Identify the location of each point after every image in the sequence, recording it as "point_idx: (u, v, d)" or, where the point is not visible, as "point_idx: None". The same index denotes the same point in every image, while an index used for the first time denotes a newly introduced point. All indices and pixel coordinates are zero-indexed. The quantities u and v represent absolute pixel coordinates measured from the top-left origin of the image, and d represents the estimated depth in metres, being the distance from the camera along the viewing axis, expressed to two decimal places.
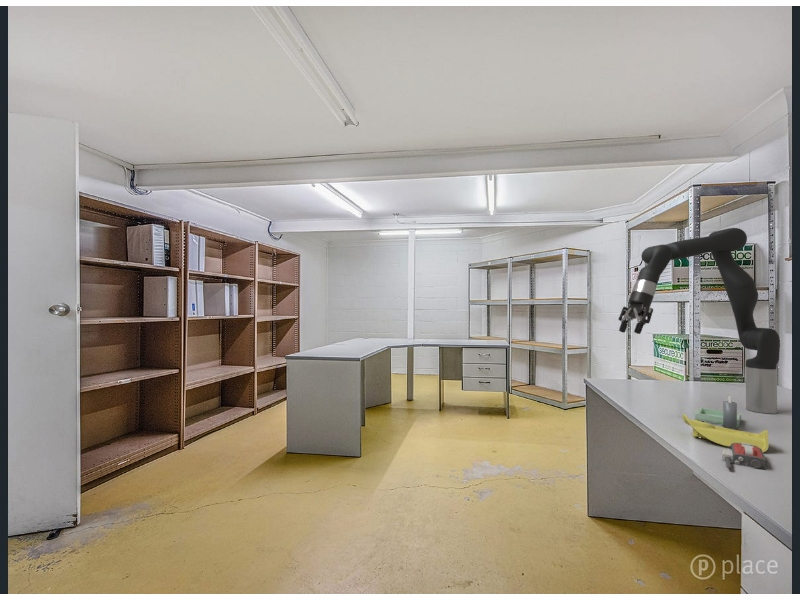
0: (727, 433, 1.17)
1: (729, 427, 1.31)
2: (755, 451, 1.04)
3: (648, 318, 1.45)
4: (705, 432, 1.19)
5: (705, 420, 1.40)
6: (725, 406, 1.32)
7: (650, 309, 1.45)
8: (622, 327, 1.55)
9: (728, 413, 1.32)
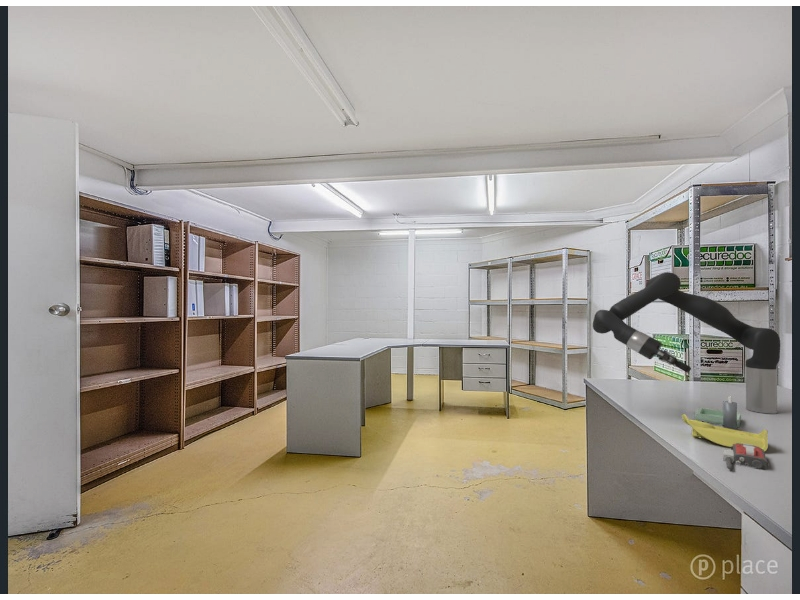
0: (726, 433, 1.17)
1: (729, 427, 1.31)
2: (757, 452, 1.04)
3: (670, 357, 1.37)
4: (704, 432, 1.19)
5: (705, 420, 1.40)
6: (725, 406, 1.32)
7: (660, 353, 1.39)
8: None
9: (728, 413, 1.32)
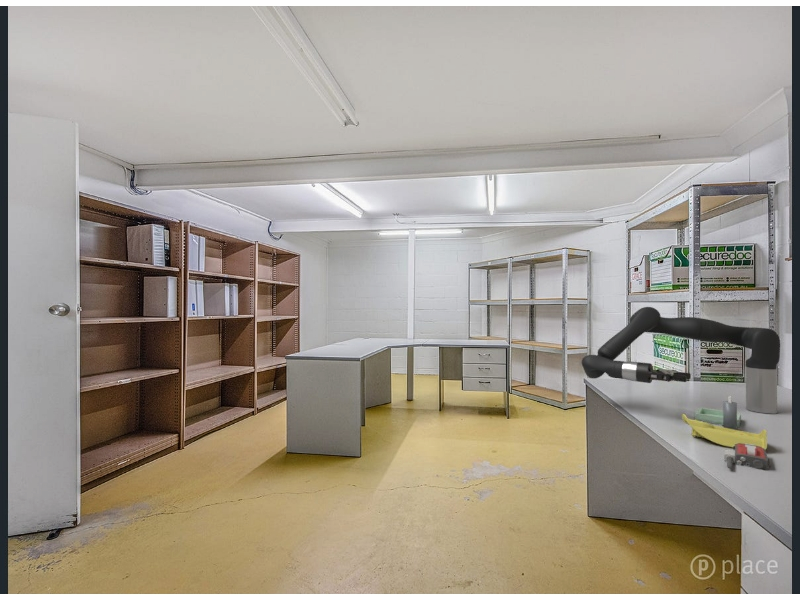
0: (726, 433, 1.17)
1: (729, 427, 1.31)
2: (758, 451, 1.04)
3: (663, 375, 1.41)
4: (704, 432, 1.19)
5: (705, 420, 1.40)
6: (725, 406, 1.32)
7: (652, 375, 1.43)
8: None
9: (728, 413, 1.32)
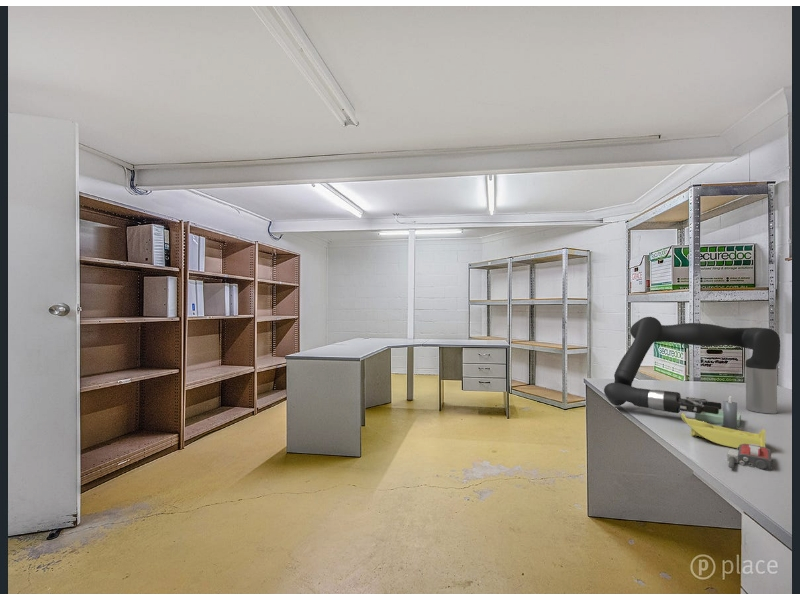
0: (724, 432, 1.17)
1: (729, 427, 1.31)
2: (762, 452, 1.04)
3: (694, 406, 1.34)
4: (702, 431, 1.20)
5: (705, 420, 1.40)
6: (725, 406, 1.32)
7: (682, 407, 1.36)
8: (715, 407, 1.39)
9: (728, 413, 1.32)
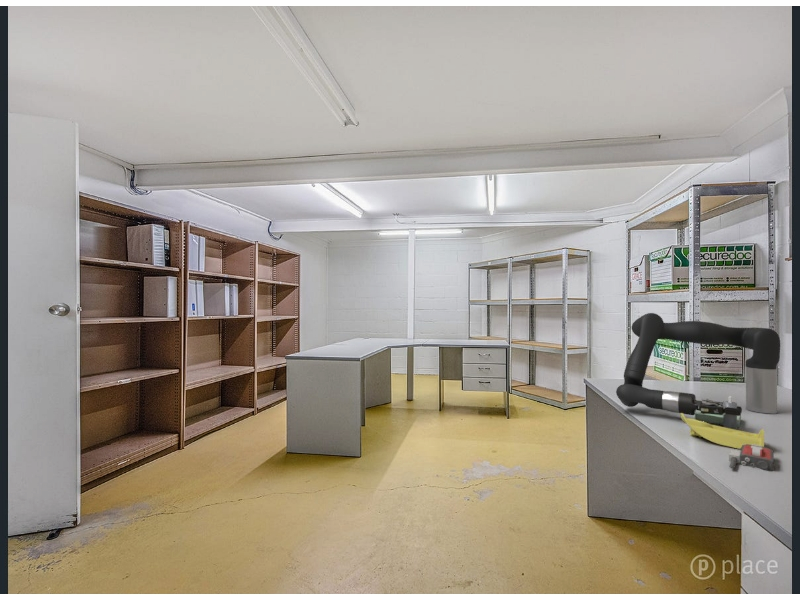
0: (723, 432, 1.18)
1: (729, 427, 1.31)
2: (764, 453, 1.03)
3: None
4: (701, 431, 1.20)
5: (705, 420, 1.40)
6: (725, 406, 1.32)
7: (704, 409, 1.32)
8: None
9: None
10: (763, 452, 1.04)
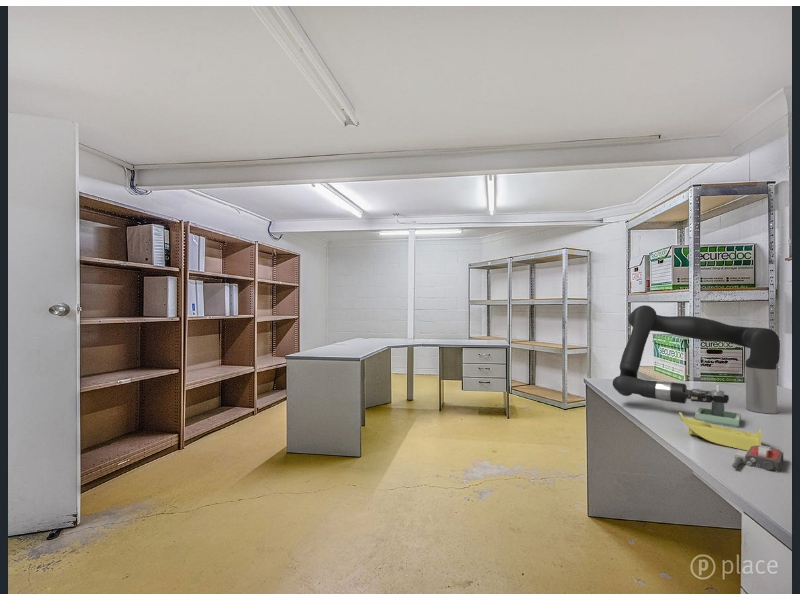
0: (721, 431, 1.18)
1: (717, 414, 1.41)
2: (772, 454, 1.02)
3: (704, 396, 1.42)
4: (699, 430, 1.21)
5: (705, 420, 1.40)
6: (714, 394, 1.42)
7: (694, 397, 1.42)
8: None
9: None
10: (771, 453, 1.03)
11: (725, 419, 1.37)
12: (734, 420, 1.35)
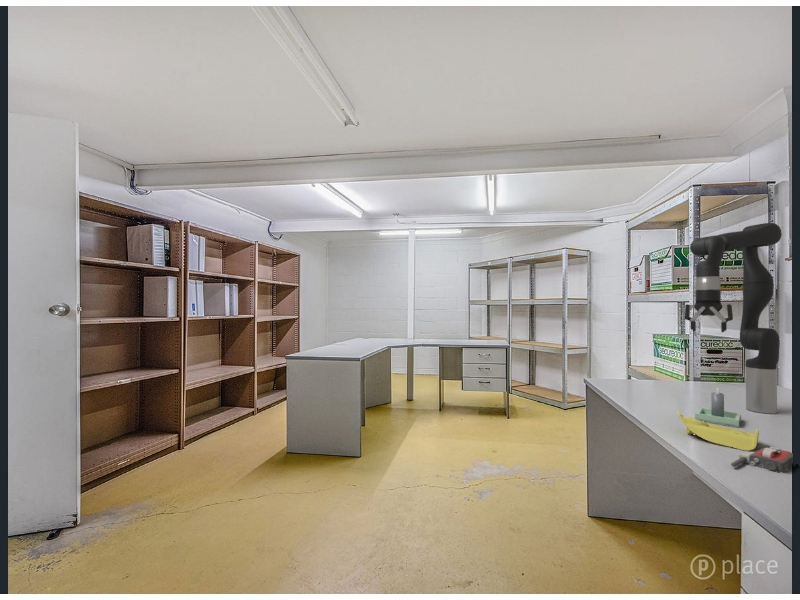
0: (717, 431, 1.19)
1: None
2: (779, 455, 1.01)
3: None
4: (696, 429, 1.22)
5: (705, 420, 1.40)
6: (713, 397, 1.42)
7: (731, 306, 1.44)
8: (695, 327, 1.51)
9: (716, 404, 1.42)
10: (778, 455, 1.02)
11: (725, 419, 1.37)
12: (734, 420, 1.35)
